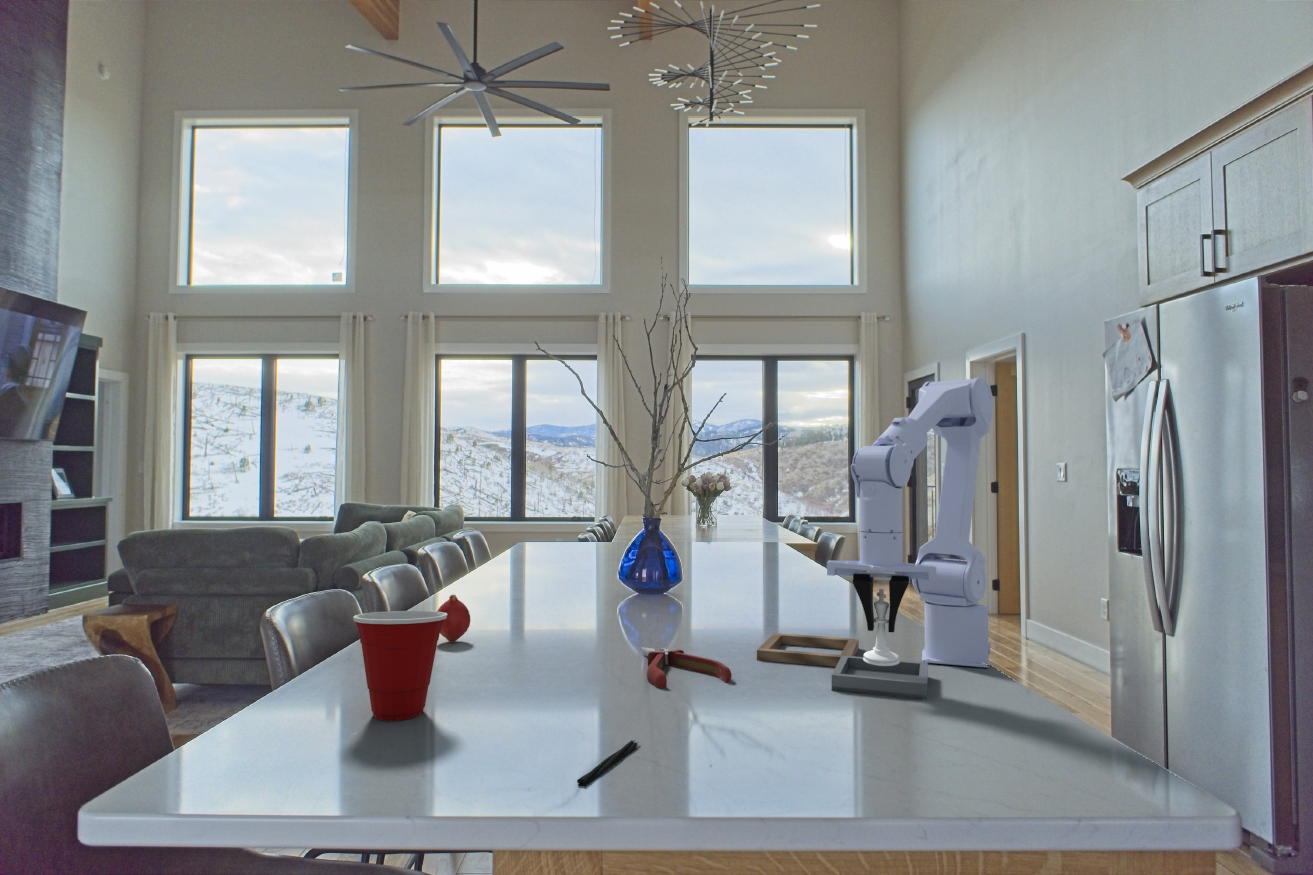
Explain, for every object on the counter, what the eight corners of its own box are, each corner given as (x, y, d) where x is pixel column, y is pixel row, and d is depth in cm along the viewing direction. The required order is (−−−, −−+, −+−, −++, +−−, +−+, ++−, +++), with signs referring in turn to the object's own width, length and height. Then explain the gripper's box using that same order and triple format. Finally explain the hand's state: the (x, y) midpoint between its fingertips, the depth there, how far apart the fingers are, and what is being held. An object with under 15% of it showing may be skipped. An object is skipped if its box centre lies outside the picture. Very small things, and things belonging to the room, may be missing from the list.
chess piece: (887, 654, 113) (888, 584, 113) (906, 664, 109) (907, 591, 108) (856, 656, 112) (856, 586, 112) (874, 667, 108) (874, 594, 107)
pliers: (682, 653, 129) (682, 637, 129) (735, 686, 110) (735, 666, 110) (614, 658, 125) (614, 642, 125) (656, 693, 106) (656, 673, 106)
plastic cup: (453, 699, 100) (455, 603, 101) (436, 727, 90) (438, 619, 90) (365, 700, 99) (367, 603, 100) (337, 728, 89) (340, 620, 89)
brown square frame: (858, 648, 131) (858, 639, 131) (849, 668, 118) (849, 657, 118) (774, 641, 136) (774, 632, 136) (756, 659, 123) (756, 649, 123)
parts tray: (927, 676, 113) (927, 662, 113) (926, 699, 102) (926, 683, 102) (841, 668, 117) (841, 655, 117) (831, 689, 106) (831, 674, 106)
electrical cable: (632, 746, 85) (632, 736, 85) (640, 747, 84) (640, 738, 84) (576, 788, 74) (576, 777, 74) (585, 790, 73) (586, 778, 73)
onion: (433, 639, 135) (434, 592, 136) (468, 637, 137) (469, 590, 137) (435, 646, 130) (436, 597, 130) (471, 644, 131) (472, 596, 132)
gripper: (824, 531, 109) (824, 631, 109) (936, 535, 104) (936, 640, 104) (830, 528, 116) (830, 622, 115) (936, 531, 111) (936, 630, 110)
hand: (881, 630), depth 110 cm, fingers closed on chess piece, 2 cm apart
